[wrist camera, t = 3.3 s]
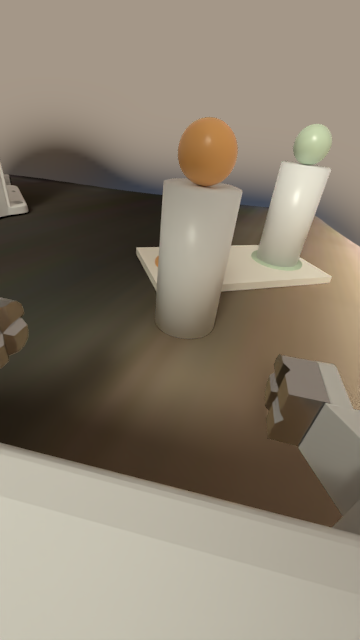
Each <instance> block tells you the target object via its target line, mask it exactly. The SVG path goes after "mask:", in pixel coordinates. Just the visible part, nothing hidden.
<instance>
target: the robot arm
mask: <svg viewBox="0 0 360 640" xmlns="http://www.w3.org/2000/svg"><path fill="white" fill-rule="evenodd" d="M28 211H29V210H28V207H27V204H26V202H25V200H24V198H23V196H22V194H21V193H20V191H19V189H18V187H17V186H14V185H11V178H10V177H9V175H8V174H3V170H2V165H1V161H0V217H3V216H7V215H13V214H21V213H26V212H28ZM23 315H24V310H23V307H22V304H20V303H19V302H17V301H14V300H9V299H5V298H0V369H1V368H2V367H3V366H4V365H5V364H6V363H7V362H8V361H9V355H11V354H14V353H16V352H19V351H20V350H21V349H22V348H23V347H24V346H25V343H26V341H27V339H28V332H29V331H28V326H27V324H26V323H25V322H24V320H23V319H22V316H23ZM274 370H275V372H274V373H273V374H271V375H269V378H268V381H267V384H266V389H265V407H266V408H267V409H268V410H269V412H268V415H267V417H266V425H267V437H268V439H271V440H275V441H279V442H283V443H287V444H290V445H294V446H298V447H299V450H300V451H301V453H302V455H303V456H304V458H305V459H306V461H307V462H308V464H309V465H310V467H311V468H312V470H313V471H314V473H315V474H316V476H317V477H318V479H319V481H320V482H321V484H322V485H323V487H324V488H325V490H326V491H327V493H328V494H329V496H330V497H331V499H332V500H333V502H334V504H335V505H336V507H337V508H338V510H339V511H340V513H341V514H342V516H343V517H342V518H341V519H340V520H339V521H338V522H337V523H336V524H335V525H334V526H333V527H332V528H331V527H328V526H324V525H320V524H316V523H312V522H308V521H304V520H300V519H296V518H292V517H289V516H285V515H281V514H277V513H273V512H269V511H265V510H261V509H257V508H253V507H250V506H246V505H242V504H238V503H234V502H230V501H226V500H222V499H218V498H214V497H211V496H207V495H203V494H199V493H195V492H191V491H187V490H183V489H179V488H175V487H172V486H168V485H164V484H160V483H156V482H152V481H148V480H144V479H140V478H136V477H132V476H129V475H125V474H121V473H117V472H113V471H109V470H105V469H101V468H97V467H93V466H90V465H86V464H82V463H78V462H74V461H70V460H66V459H62V458H58V457H54V456H50V455H47V454H43V453H39V452H35V451H31V450H27V449H23V448H19V447H15V446H11V445H7V444H4V443H0V640H360V410H356V409H353V407H352V404H351V402H350V399H349V397H348V394H347V392H346V389H345V387H344V384H343V382H342V380H341V377H340V375H339V372H338V370H337V367H336V366H335V365H334V364H331V363H325V362H320V361H311V360H306V359H301V358H296V357H291V356H285V355H280V354H279V355H278V357H277V358H276V360H275V363H274Z"/></svg>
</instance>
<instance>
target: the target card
mask: <svg viewBox="0 0 360 640" xmlns="http://www.w3.org/2000/svg"><path fill="white" fill-rule="evenodd" d="M258 248H259V245H235V246H231V248H230V252H229V257H228V262H227V267H226V271H225V276H224V281H223V285H222V290H221V292H223V291H235V290H248V289H260V288H273V287H285V286H298V285H310V284H323V283H329V282H330V280H331V278H332V276H330V275H328V274H327V273H325V272H323V271H322V270H320V269H319V268H317V267H315V266H314V265H312V264H310V263H309V262H307V261H305V260H304V259H302V258H300V257H299V260H298V262H297V265H296V266H293V267H279V266H274V265H270V264H267V263H265V262H263V261H261V260H260V259H258V258H257V251H258ZM136 255H137V257H138V258H139V260H140V262H141V264H142V266H143V268H144V269H145V271H146V273H147V275H148V277H149V279H150V281H151V282H152V284H153V286H154V288H155V290H156V291H157V275H158V260H159V247H138V248H136Z"/></svg>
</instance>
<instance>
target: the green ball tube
mask: <svg viewBox="0 0 360 640" xmlns="http://www.w3.org/2000/svg"><path fill="white" fill-rule="evenodd" d="M331 144H332V136H331V133H330V131H329V129H328V128H327V127H326V126H324V125H321V124H313V125H310V126H307V127H306V128H304V129H303V130H302V131H301V132H300V133H299V134H298V136H297V138H296V139H295V142H294V147H293V151H294V156H295V158H296V159H297V161H298V162H300V163H297V162H287V161H282V162H281V166H280V170H279V174H278V177H277V181H276V185H275V189H274V192H273V196H272V200H271V203H270V207H269V210H268V214H267V218H266V222H265V225H264V229H263V233H262V236H261V240H260V244H259V248H258V251H257V258H258V259H260V260H261V261H263V262H265V263H267V264H270V265H274V266H279V267H293V266H296V265H297V262H298V260H299V257H300V254H301V251H302V249H303V246H304V243H305V240H306V237H307V235H308V232H309V229H310V226H311V224H312V221H313V218H314V215H315V213H316V209H317V207H318V204H319V201H320V199H321V196H322V193H323V190H324V187H325V185H326V182H327V179H328V177H329V174H330V171H331V168H328V167H323V166H318V165H313V164H316V163H318V162H320V161H321V160H323V158H325V157H326V155H327V154H328V152H329V151H330V148H331Z"/></svg>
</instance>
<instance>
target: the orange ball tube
mask: <svg viewBox="0 0 360 640" xmlns="http://www.w3.org/2000/svg"><path fill="white" fill-rule="evenodd" d="M237 150H238V147H237V141H236V137H235V135H234V133H233V131H232V130H231V128H230V127H229V126H228V125H227V124H226V123H225V122H224V121H222V120H220V119H217V118H213V117H205V118H201V119H198V120H196V121H195V122H193V123H192V124H191V125H189V127H188V128H187V129H186V130H185V132H184V133H183V135H182V137H181V139H180V143H179V147H178V160H179V164H180V167H181V169H182V172H183V173H184V175H185V176H186V177H187V178H188V179H186V178H173V179H167V180H164V184H163V199H162V214H161V230H160V245H159V260H158V275H157V291H156V306H155V323H156V325H157V327H158V328H159V329H160V330H161V331H163V332H164V333H166V334H168V335H170V336H173V337H176V338H181V339H197V338H201V337H204V336H206V335H208V334H209V333H210V332H211V331H212V330H213V327H214V323H215V318H216V314H217V309H218V304H219V300H220V295H221V290H222V285H223V281H224V276H225V271H226V267H227V262H228V257H229V252H230V248H231V243H232V238H233V234H234V229H235V224H236V219H237V215H238V210H239V205H240V200H241V196H242V190H241V189H239V188H237V187H234V186H231V185H228V184H223V183H220V182H222V181H223V180H224V179H225V178H226V177H227V176H228V175H229V174H230V173H231V171H232V170H233V167H234V165H235V163H236V159H237V153H238V151H237Z"/></svg>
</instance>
